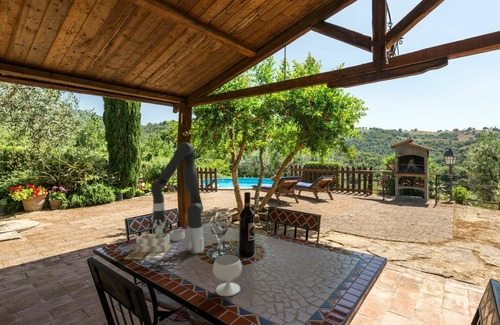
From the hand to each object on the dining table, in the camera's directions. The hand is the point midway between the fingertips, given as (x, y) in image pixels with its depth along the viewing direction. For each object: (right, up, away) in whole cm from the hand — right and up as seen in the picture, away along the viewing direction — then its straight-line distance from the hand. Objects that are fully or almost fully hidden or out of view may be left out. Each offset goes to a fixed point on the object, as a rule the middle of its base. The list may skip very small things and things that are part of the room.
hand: (159, 233), depth 172 cm
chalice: (+52, -13, -50) cm, 74 cm away
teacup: (+6, -12, +22) cm, 26 cm away
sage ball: (0, -1, 0) cm, 1 cm away
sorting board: (-5, -13, -4) cm, 14 cm away
